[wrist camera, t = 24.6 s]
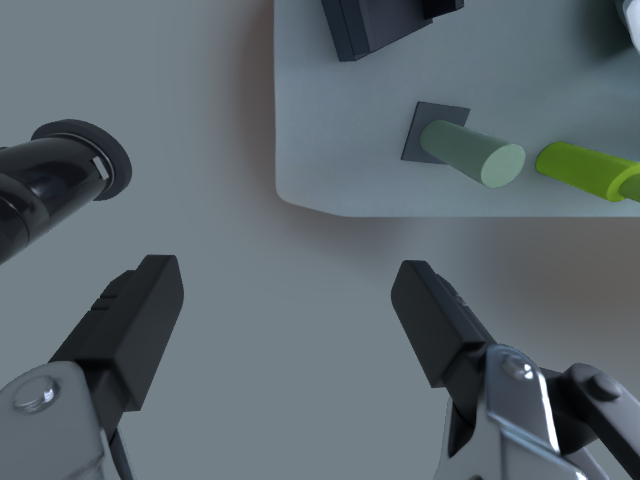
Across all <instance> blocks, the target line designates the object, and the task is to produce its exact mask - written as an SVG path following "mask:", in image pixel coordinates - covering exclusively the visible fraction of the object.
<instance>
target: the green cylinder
mask: <svg viewBox="0 0 640 480" xmlns="http://www.w3.org/2000/svg"><path fill="white" fill-rule="evenodd" d="M420 145H421V147H422V149H423V150H424V151H426V152H428V153H429V154H431V155H433V156H434V157H436V158H438V159H440V160H441V161H443V162H445V163H446V164H448V165H450V166H452V167H453V168H455V169H457V170H458V171H460V172H462V173H464V174H465V175H467V176H469V177H470V178H472V179H474V180H476V181H477V182H479V183H481V184H482V185H484V186H486V187H488V188H499V187H502V186H504V185H506V184H508V183H509V182H511V181H512V180H513V179H514V178H515V177H516V176H517V175H518V174H519V172H520V171H521V169H522V167H523V165H524V162H525V153H524V150H523V149H522V148H521V147H520V146H519V145H516V144H513V143H510V142H507V141H504V140H501V139H498V138H495V137H492V136H489V135H486V134H483V133H480V132H477V131H474V130H471V129H468V128H465V127H462V126H459V125H456V124H453V123H450V122H447V121H444V120H435V121H432V122H431V123H429V124H428V125H427V126H426V127H425V128H424V129H423V131H422V133H421V136H420Z"/></svg>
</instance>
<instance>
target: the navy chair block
mask: <svg viewBox="0 0 640 480" xmlns="http://www.w3.org/2000/svg"><path fill="white" fill-rule="evenodd" d="M321 2H322V5H323V8H324V12H325V15H326V18H327V22H328V25H329V28H330V31H331V35H332V38H333V41H334V45H335V48H336V51H337V55H338V58H339V61H340V62H347V61H356V60H358V59H360V58H362V57H364V56H367V55H369V54H371V53H373V52H375V51H377V50H379V49H381V48H383V47H385V46H387V45H389V44H391V43H393V42H395V41H397V40H399V39H401V38H403V37H405V36H407V35H409V34H411V33H413V32H415V31H417V30H419V29H421V28H423V27H425V26H427V25H429V24H431V23H433V19H432V18H434V17H438V16H441V15H444V14H447V13H450V12H454V11H457V10H459V9H461V8H463V7H464V0H321Z"/></svg>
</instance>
